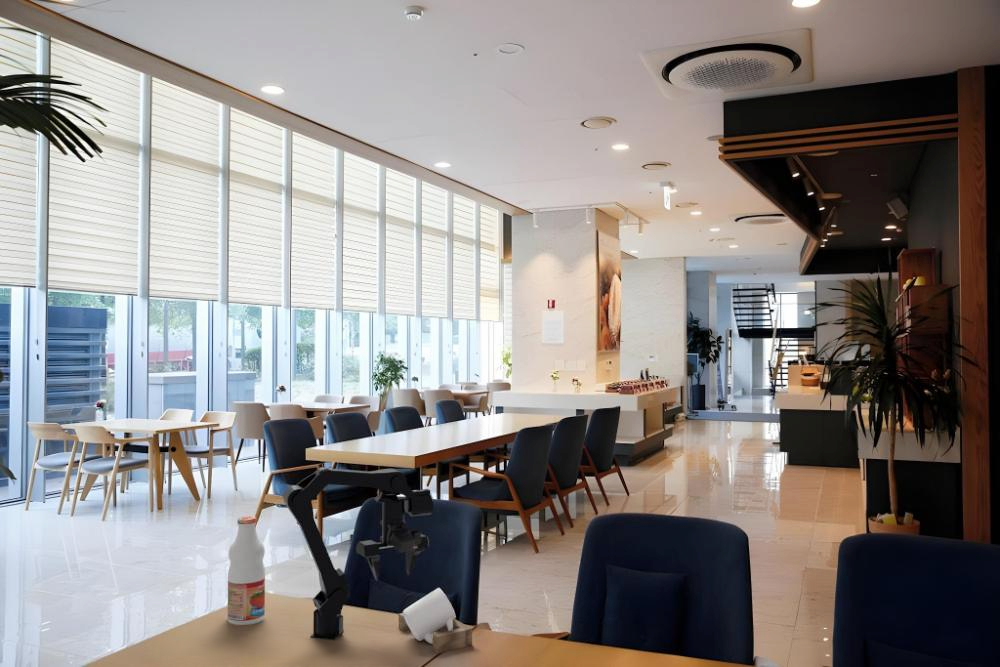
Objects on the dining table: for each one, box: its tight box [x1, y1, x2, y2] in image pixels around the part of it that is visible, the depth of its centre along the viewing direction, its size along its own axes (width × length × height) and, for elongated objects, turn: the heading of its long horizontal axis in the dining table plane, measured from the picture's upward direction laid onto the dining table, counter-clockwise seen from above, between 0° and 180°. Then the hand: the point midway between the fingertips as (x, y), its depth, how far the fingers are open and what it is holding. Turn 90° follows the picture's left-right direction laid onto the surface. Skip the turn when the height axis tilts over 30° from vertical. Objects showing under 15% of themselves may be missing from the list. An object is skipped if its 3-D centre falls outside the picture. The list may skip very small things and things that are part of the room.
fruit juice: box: [226, 516, 266, 626], centre depth 206 cm, size 9×9×28 cm
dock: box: [398, 612, 473, 654], centre depth 197 cm, size 10×20×4 cm, turn 34°
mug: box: [402, 587, 457, 645], centre depth 195 cm, size 9×12×11 cm
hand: (393, 577), depth 204 cm, fingers open, 9 cm apart
